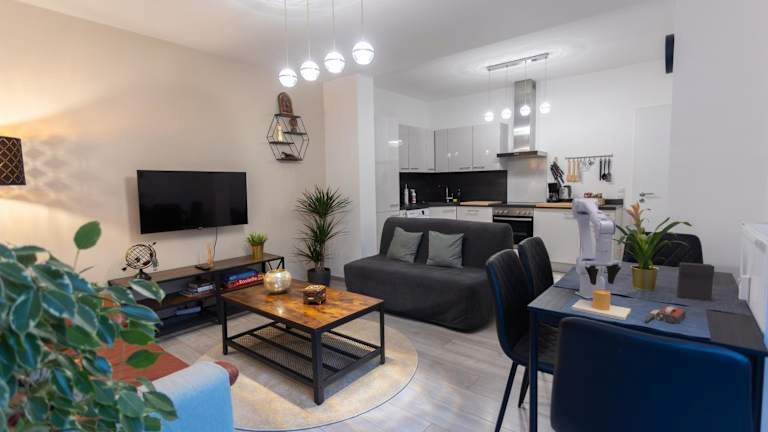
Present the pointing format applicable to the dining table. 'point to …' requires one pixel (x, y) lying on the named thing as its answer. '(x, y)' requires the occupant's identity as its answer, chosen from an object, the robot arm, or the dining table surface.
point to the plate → (613, 312)
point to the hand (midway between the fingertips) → (601, 283)
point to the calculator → (695, 281)
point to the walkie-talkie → (668, 314)
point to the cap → (601, 299)
